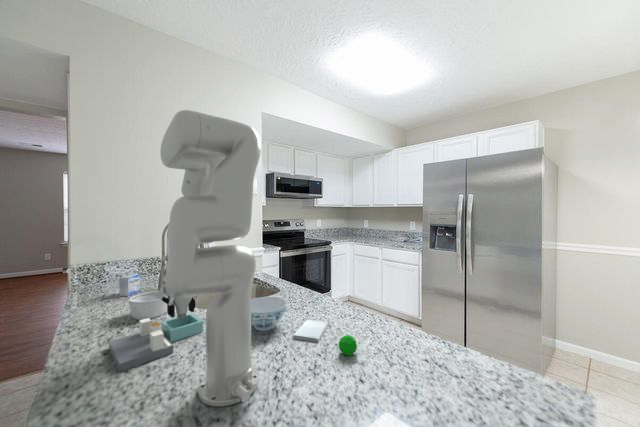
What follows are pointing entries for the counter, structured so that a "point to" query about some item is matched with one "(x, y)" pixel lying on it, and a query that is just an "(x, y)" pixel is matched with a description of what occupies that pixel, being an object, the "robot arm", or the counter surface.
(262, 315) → the chinaware
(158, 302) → the ramekin
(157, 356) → the breaker panel
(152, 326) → the block
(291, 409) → the counter surface
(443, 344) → the counter surface
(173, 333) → the socket
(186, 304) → the lightbulb
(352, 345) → the polyhedron
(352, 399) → the counter surface
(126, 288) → the medicine box
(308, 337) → the hard drive
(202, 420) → the counter surface
